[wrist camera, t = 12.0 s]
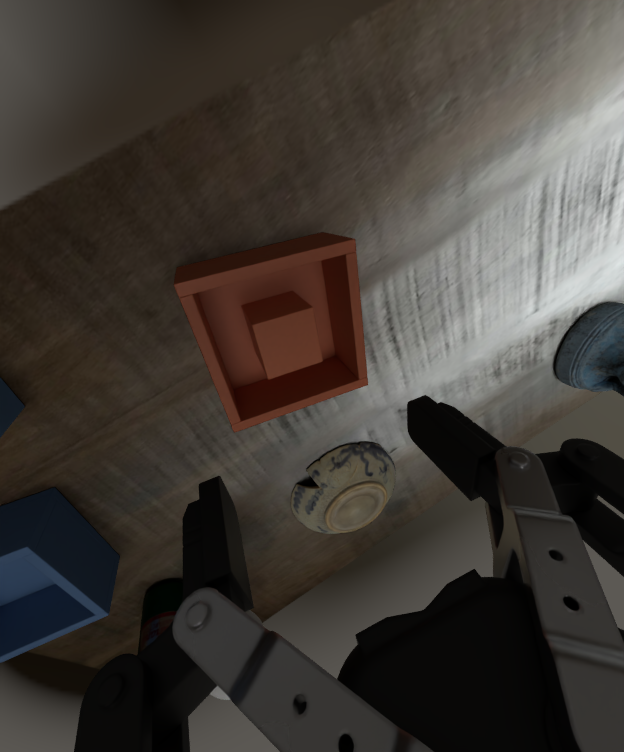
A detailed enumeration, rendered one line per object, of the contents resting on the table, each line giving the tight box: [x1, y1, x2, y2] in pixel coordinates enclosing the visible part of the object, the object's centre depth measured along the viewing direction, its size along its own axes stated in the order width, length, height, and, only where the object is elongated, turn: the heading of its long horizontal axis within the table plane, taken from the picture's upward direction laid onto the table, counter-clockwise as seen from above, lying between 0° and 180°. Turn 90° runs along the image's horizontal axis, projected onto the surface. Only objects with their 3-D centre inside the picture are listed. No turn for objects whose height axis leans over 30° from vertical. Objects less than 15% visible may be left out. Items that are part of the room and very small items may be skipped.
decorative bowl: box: [291, 442, 396, 534], centre depth 39 cm, size 15×4×15 cm
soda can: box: [138, 581, 183, 654], centre depth 34 cm, size 5×5×12 cm
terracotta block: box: [241, 291, 323, 380], centre depth 24 cm, size 4×4×5 cm
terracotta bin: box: [174, 232, 368, 432], centre depth 24 cm, size 12×12×6 cm
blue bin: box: [0, 487, 120, 663], centre depth 27 cm, size 12×12×6 cm
